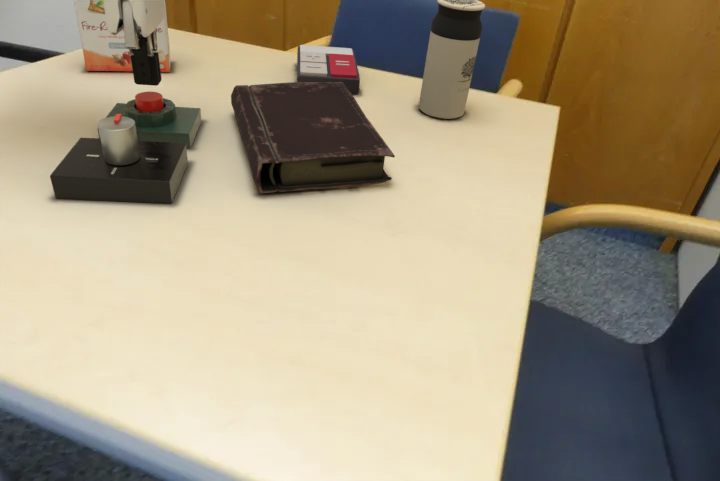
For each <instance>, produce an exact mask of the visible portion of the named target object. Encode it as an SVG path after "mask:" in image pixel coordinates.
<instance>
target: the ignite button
mask: <svg viewBox="0 0 720 481" xmlns="http://www.w3.org/2000/svg"><path fill="white" fill-rule="evenodd" d="M163 98H164V96H163V94H161V93H160V92H156V91H142V92H138V93H137V94H135V96H134V99H135V101H136V107H137V110H140V111H146V112H153V111H159V110H161V109H164V104H163Z"/></svg>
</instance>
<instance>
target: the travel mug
mask: <svg viewBox="0 0 720 481" xmlns="http://www.w3.org/2000/svg"><path fill="white" fill-rule="evenodd" d="M436 1H437V4H438V6H437V7H438V8H437V10H438V11H437V12H436V14H435V16H434V17H433V18H432V21H431V25H430V26H431V27H430V32H429V33H430V34H429V38H428V45H427V51H426V58H425V64H424V70H423V76H422V82H421V89H420V93H419V101H418V109H419V110H420V111H421V112H422V113H424V114H425V115H427V116H430V117H432V118H436V119H442V120H450V119H451V120H453V119H457V118H461V117H463V115H464V114H465V111H466V107H467V106H466V105H467V101H468V96H469V92H470V87H471V83H472V79H473V74H474V70H475V69H474V68H475V63H476V60H477V54H478V51H479V50H478V49H479V45H480V41H481V35H482V31H483V24H482V20H481V16H482V13H483V11H484V9H486V4H485V3H484V2H482V1H480V0H436Z"/></svg>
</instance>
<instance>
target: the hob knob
mask: <svg viewBox="0 0 720 481" xmlns="http://www.w3.org/2000/svg"><path fill="white" fill-rule="evenodd" d="M98 129H99V134H100V139H101V144H102V149H103V155H104V160H105V161H106V162H107V163H109V164H111V165H119V166H121V165H129V164H132V163H135V162H136V161H138V160H139V159H140V152H139V145H138V138H137V132H136V125H135V121H134V120H133V119H131V118H129V117H124V116H121V114H116V116H114V117H108V118H106V117H105V118H102V119H100V120H99V121H98V123H97V130H98ZM99 134H98V135H99Z"/></svg>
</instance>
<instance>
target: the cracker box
mask: <svg viewBox="0 0 720 481" xmlns="http://www.w3.org/2000/svg"><path fill="white" fill-rule="evenodd" d="M73 5H74V11H75V15H76V22H77V28H78V33H79V39H80V43H81V48H82V49H81V50H82V54H83V58H84V59H83V60H84V65H85V70H86V71H87V72H133V69H132V63H131V56H130V53H129V49H126V47H125V36H124V28H123V29H122V30H121V31H120V32H119V33H118V34H116V35H111V34H110V33H109V32H108V30H107V24H106V17H105V10H104V2H103V0H73ZM166 5H167V4H166V0H163V7H164V17H163V20H162V22H161V23H160V24H159V25H158V27H157V28H156V34H157V45H158V50H157V52H158V55H159V63H160V71H161V73H171V62H172V59H171V46H170V37H169V36H170V34H169V26H168V17H167V6H166ZM153 52H155V51H153Z"/></svg>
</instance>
